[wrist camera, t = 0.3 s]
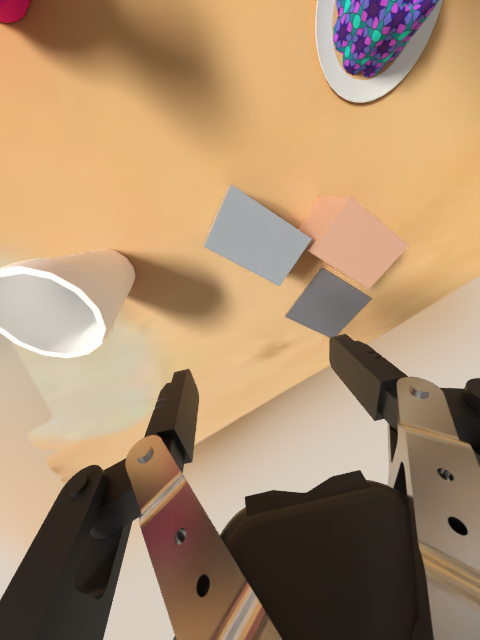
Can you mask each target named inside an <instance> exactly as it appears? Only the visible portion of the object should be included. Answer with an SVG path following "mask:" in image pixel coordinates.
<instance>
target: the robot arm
mask: <svg viewBox="0 0 480 640" xmlns="http://www.w3.org/2000/svg"><path fill="white" fill-rule="evenodd" d="M329 359H330V364H331V367H332V369H333V370H334V371H335V373H336V374H337V375H338V376H339V377H340V379H341V380H342V381H343V382H344V384H345V385H346V386H347V387H348V389H349V390H350V391H351V392H352V394H353V395H354V396H355V397H356V399H357V400H358V401H359V402H360V403H361V405H362V406H363V407H364V408H365V410H366V411H367V412H368V413H369V415H370V416H371V417H372V418H373V419H374V421H376V420H381V419H385V420H386V421H387V422H388V451H389V477H388V486H387V485H384V484H382V483H378V482H375V481H369V480H366V479H365V478H364V476H363V474H362V473H361V471H360V470H359V471H354V472H350V473H346V474H342V475H337V476H333V477H331V478H329V479H328V480H326V481H324V482H323V483H321V484H320V485H318V486H317V487H315V488H313V489H312V490H310V491H309V492H307V493H297V492H286V491H276V490H272V491H268V492H264V493H260V494H255V495H251V496H246V497H245V504H246V507H245V508H244V509H242V510H241V511H239V512H238V513H237V514H236V515H235V516H234V517H233V518H232V519H231V520H230V521H229V522H228V524H227V525H226V527H225V528H224V529H223V531H222V533H221V535H219V534H218V532H217V530H216V529H215V527H214V525H213V524H212V522H211V520H210V519H209V517H208V516H207V514H206V512H205V510H204V509H203V507H202V505H201V504H200V502H199V500H198V499H197V497H196V495H195V494H194V492H193V491H192V489H191V487H190V485H189V484H188V482H187V481H186V479H185V477H184V476H183V467H184V464H186V463H190V462H192V458H193V450H194V441H195V432H196V422H197V413H198V404H199V393H198V389H197V387H196V384H195V382H194V379H193V377H192V374H191V372H190V370H189V369H186V370H182V371H178V372H175V373H174V375H173V379H172V382H171V383H167V384H166V385H165V386H164V388H163V389H162V390H161V391H160V394H159V397H158V402H157V403H156V405H155V409H154V411H153V414H152V417H151V420H150V423H149V425H148V428H147V431H146V434H145V437H144V438H143V439H141V440H140V441H138V442H137V443H136V444H135V445H134V446H133V447H132V449H131V450H130V452H129V453H128V455H127V458H125V459H124V460H122V461H120V462H118V463H116V464H115V465H113V466H111V467H109V468H107V469H105V470H103V469H102V468H101V467H100V466H98V465H91V466H88V467H86V468H84V469H82V470H80V471H79V472H78V473H76V474H75V475H74V476H73V477H72V478H71V479H70V480H69V481H68V482H67V483H66V484H65V486H64V487H63V489H62V490H61V492H60V494H59V495H58V497H57V499H56V501H55V502H54V504H53V506H52V508H51V510H50V512H49V513H48V515H47V517H46V519H45V520H44V523H43V524H42V526H41V528H40V530H39V532H38V533H37V535H36V537H35V539H34V540H33V542H32V544H31V546H30V548H29V549H28V551H27V553H26V555H25V557H24V558H23V560H22V562H21V564H20V566H19V567H18V569H17V571H16V573H15V575H14V576H13V578H12V580H11V582H10V584H9V586H8V587H7V589H6V591H5V593H4V595H3V597H2V598H1V600H0V640H103V637H104V633H105V629H106V625H107V621H108V617H109V613H110V609H111V605H112V601H113V597H114V593H115V589H116V585H117V581H118V577H119V573H120V569H121V565H122V561H123V557H124V553H125V549H126V545H127V541H128V537H129V533H130V529H131V525H132V521H133V520H135V519H136V518H138V517H140V518H139V523H140V527H141V531H142V534H143V537H144V540H145V543H146V546H147V549H148V552H149V556H150V559H151V562H152V565H153V568H154V571H155V574H156V577H157V580H158V583H159V587H160V590H161V593H162V596H163V599H164V602H165V605H166V608H167V611H168V615H169V618H170V621H171V624H172V627H173V630H174V633H175V637H174V639H173V640H480V378H476V379H471V380H469V381H468V382H467V383H466V386H465V388H464V389H457V388H439V387H438V386H436V385H435V384H433V383H431V382H429V381H427V380H425V379H421V378H417V377H408V376H407V375H405V374H404V373H403V372H402V371H400V370H399V369H398V368H397V367H395V366H394V365H393V364H391V363H390V362H389V361H387V360H386V359H385V358H383V357H382V356H381V355H380V354H379V353H377V352H375V351H374V350H373V349H372V348H371V347H369V346H368V345H367V344H364V343H362V342H359V341H354V340H352V339H351V338H350V337H349V336H347V335H346V334H343V335H338V336H334V337H331V338H330V354H329Z"/></svg>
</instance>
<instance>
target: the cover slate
mask: <svg viewBox="0 0 480 640" xmlns="http://www.w3.org/2000/svg"><path fill="white" fill-rule="evenodd" d="M311 239H312V238H310V237H309V236H307V235H306V234H304V233H303V232H301V231H300V230H298V229H297V228H295V227H294V226H292V225H291V224H289V223H288V222H286V221H285V220H283V219H282V218H280V217H279V216H277V215H276V214H274V213H273V212H271V211H270V210H268V209H267V208H265V207H264V206H262V205H261V204H259V203H258V202H256V201H255V200H253V199H252V198H250V197H249V196H247V195H246V194H244V193H243V192H242V191H240V190H239V189H237V188H236V187H234V186H233V185H230V186H228V187H227V189H226V191H225V194H224V196H223V198H222V201H221V203H220V205H219V208H218V210H217V212H216V215H215V217H214V219H213V222H212V224H211V226H210V229H209V231H208V233H207V236H206V240H205V244H204V247H206V248H208V249H209V250H211V251H213V252H215V253H217V254H219V255H221V256H223V257H225V258H227V259H229V260H230V261H232V262H234V263H236V264H238V265H240V266H242V267H244V268H246V269H248V270H250V271H251V272H253V273H255V274H257V275H259V276H261V277H263V278H265V279H267V280H269V281H271V282H273V283H274V284H276V285H278V286H280V285H281V284H282V282H283V281H284V279H285V278H286V276H287V275H288V273H289V272H290V270H291V269H292V267H293V266H294V264H295V263H296V262H297V260H298V259H299V257H300V256H301V254H302V253H303V251H304V250H305V248H306V247H307V245H308V244H309V242H310V241H311Z"/></svg>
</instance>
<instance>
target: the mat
mask: <svg viewBox="0 0 480 640" xmlns="http://www.w3.org/2000/svg"><path fill="white" fill-rule="evenodd" d="M371 299H372V298H370V297H368V296H367V295H365V294H364V293H362V292H360V291H359V290H357V289H355V288H354V287H352V286H351V285H349V284H347V283H346V282H344V281H343V280H341V279H339V278H338V277H336V276H334V275H333V274H331V273H330V272H328V271H326V270H325V269H323V268H321V269H320V270H319V272H318V273H317V274H316V276H315V277H314V278H313V280H312V281H311V282H310V284H309V285H308V286H307V288H306V289H305V290H304V292H303V293H302V294H301V296H300V297H299V298H298V300H297V301H296V302H295V304H294V305H293V306H292V308H291V309H290V310H289V312H288V313H287V314H286V317H287V318H289V319H291V320H293V321H296V322H298V323H300V324H302V325H304V326H306V327H308V328H311V329H313V330H315V331H317V332H319V333H321V334H324V335H326V336H328V337H330V338H331V337H334V336H337V334H338V333H339V332H340V331H341V330H342V329H343V328H344V327H345V326H346V325H347V324H348V323H349V322H350V321H351V320H352V319H353V318H354V317H355V316H356V314H357V313H358V312H359V311H360V310H361V309H362V308H363V307H364V306H365V305H366V304H367V303H368V302H369V301H370V300H371Z"/></svg>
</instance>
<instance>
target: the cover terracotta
mask: <svg viewBox="0 0 480 640" xmlns="http://www.w3.org/2000/svg"><path fill="white" fill-rule="evenodd" d="M298 230H300V231H301V232H303V233H304V234H306V235H307V236H309V237H310V238H312V239H311V241H310V242H309V244H308V245H307V247H306V248H305V250H306V251H308V252H310V253H311V254H313V255H314V256H316V257H317V258H319V259H321V260H322V261H324V262H325V263H327V264H328V265H330V266H332V267H333V268H335V269H336V270H338V271H340V272H341V273H343V274H344V275H346V276H348V277H349V278H351V279H353V280H354V281H356V282H357V283H359V284H361V285H362V286H364V287H366V288H367V289H370V288H371V287H372V285H373V284H374V283H375V282H376V281H377V280H378V279H379V278H380V277H381V276H382V275H383V273H384V272H385V271H386V270H387V269H388V268H389V267H390V266H391V265H392V264H393V263H394V262H395V260H396V259H397V258H398V257H399V256H400V255H401V254H402V253H403V252H404V251H405V250H406V248H407V247H408V246H409V245H408V244H407V243H405V242H404V241H403V240H402V239H401V238H400V237H398V236H397V235H396V234H395V233H394V232H392V231H391V230H390V229H389V228H388V227H386V226H385V225H384V224H383V223H382V222H381V221H379V220H378V219H377V218H376V217H375V216H373V215H372V214H371V213H370V212H369V211H368V210H366V209H365V208H364V207H363V206H362V205H360V204H359V203H358V202H357V201H356V200H355V199H353V198H352V197H318V198H317V200H316V201H315V203H314V204H313V206H312V208H311V209H310V211H309V212H308V214H307V215H306V217H305V219H304V220H303V222H302V223H301V225H300V227H299V228H298Z"/></svg>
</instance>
